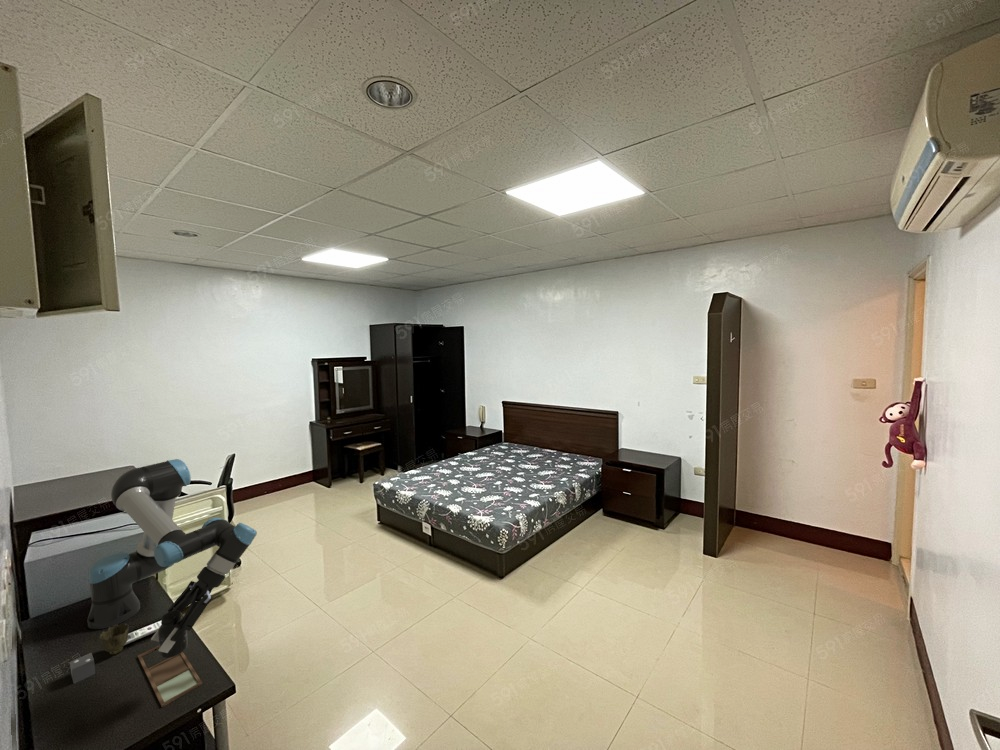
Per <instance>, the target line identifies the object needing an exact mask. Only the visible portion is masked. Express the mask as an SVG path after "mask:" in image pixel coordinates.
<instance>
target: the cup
mask: <svg viewBox="0 0 1000 750" xmlns="http://www.w3.org/2000/svg"><path fill="white" fill-rule="evenodd" d="M129 626H130V625H129V624H128V623H124V624H122V623H119V624H117V625H114V626H111V627H108V628H107V631H102V632H101V633H100V634H99V640H100V644H101V646H102V649H103V650H104V651H105V652H108V654H109V655H117V654H119V653H121V652H122V651H123V650H124V646H125V645H126V643H127V641H128V638H129V628H130V627H129Z"/></svg>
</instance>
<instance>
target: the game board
mask: <svg viewBox="0 0 1000 750" xmlns="http://www.w3.org/2000/svg"><path fill="white" fill-rule="evenodd" d="M158 648H160V646H159V645H157V646H154V647H153V648H151V649H149V650H147V651H145V652H143V653H140V654H138V655H137V659H138V661H139V663H140V665H141V667H142V669H143V671H144V674H145V675H146V678H147V679H148V682H149V684H150V686H151V689H152V690H153V692H154V694H155V696H156V698H157V700H158V702H159V705H160V706H161V708H163V707H165V706H167V705H168V704H169V705H170V703H173V702H174V701H176V700H177V699H179V698H181V697H182V696H184V695H186V694H188V693H190V692H192V691H193V690H195V689H197V688H198V686H199V687H200V686H202V685H203V681H202V680H201V678H200V677H199V675H198V674H197V672H196V670H195V669H194V667H193V666H192V664H191V662H190V661H189V659H188V658H187V656H186V654H185V653H184V651H183V652H182V653H180V654H179V655H177V656H174V657H171V658H165V660H162V661H160V662H159V663H156V664H155V665H152V666H150V667H147V664H146V663H145V661H144V658H143V657H144V656H146V655H148V654H150V653H152V651H153V652H154V650H155V649H157V650H159V649H158ZM155 651H156V650H155Z"/></svg>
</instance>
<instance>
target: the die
mask: <svg viewBox="0 0 1000 750" xmlns="http://www.w3.org/2000/svg"><path fill="white" fill-rule="evenodd" d="M69 665H70V668H69V669H70V674H71V679H72V682H73V684H77V683H79V682H81V681H83V680H86V679H87V678H89V677H91V676H93V675H95V674H96V667H95V659H94V657H93V653H92V652H90V653H87V654H85V655H83V656H80V657H78V658H76V659H73V660H71V661H69Z"/></svg>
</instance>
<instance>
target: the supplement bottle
mask: <svg viewBox="0 0 1000 750" xmlns="http://www.w3.org/2000/svg"><path fill="white" fill-rule="evenodd" d="M182 619H183V617H182V613H181V611H180V610H173V611H170V612H168V611H167V612H166V613H165V614H163V615H162V617H161V619H160V620H161V621H160V624H161V625H160V626H159V628H158V629H157V630H158V636H159V642H158V646H160V647H161V646H162V644H163V643H164V642H165V640H166V639H167V638H168V636H169V635H170V634H171V632H172V631H173V630H174V628H175V627H176V626H179V624H180V622H181V620H182ZM188 645H189V640H188V630H185V631H184V632H183V633H182V634H181V636H180V637H179V639H178V640H177V641H176V642H175V644H174V645H173V646H172V648H171V649H170V650H169V652H168V653H165V652H160V651H159V654H160V657H161V658H162V659H168V658H171V657H174V656H177V655H179V654H180V653H182V652H183V653H184V651H185V650H186V649H188Z"/></svg>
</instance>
